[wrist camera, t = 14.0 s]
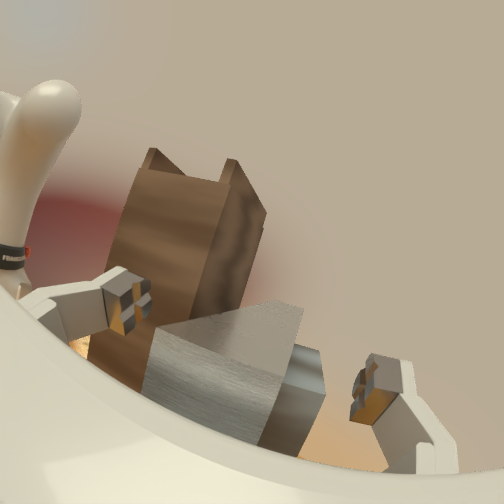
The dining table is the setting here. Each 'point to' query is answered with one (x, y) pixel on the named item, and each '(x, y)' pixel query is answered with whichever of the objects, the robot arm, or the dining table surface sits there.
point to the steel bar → (224, 367)
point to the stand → (199, 280)
